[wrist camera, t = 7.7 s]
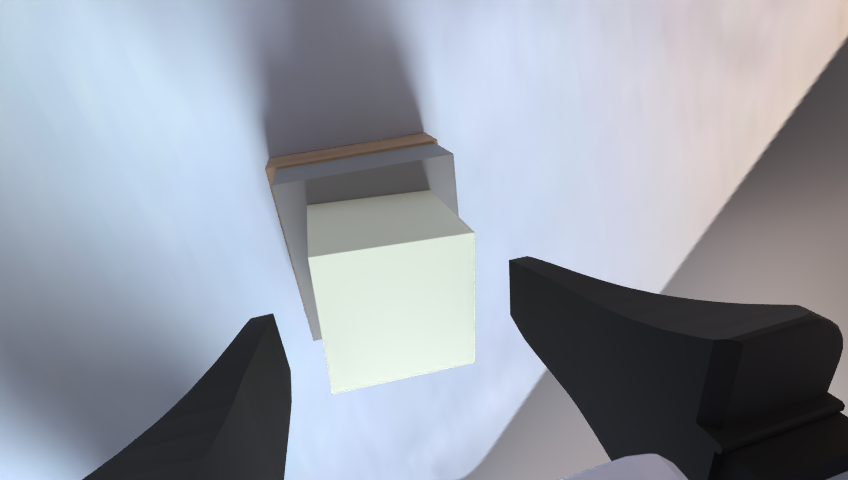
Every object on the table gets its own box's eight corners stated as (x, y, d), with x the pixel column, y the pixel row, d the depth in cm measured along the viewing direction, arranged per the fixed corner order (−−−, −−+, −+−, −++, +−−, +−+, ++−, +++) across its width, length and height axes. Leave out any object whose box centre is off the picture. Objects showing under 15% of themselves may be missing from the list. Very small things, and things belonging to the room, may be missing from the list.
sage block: (435, 294, 17) (474, 362, 13) (325, 314, 16) (332, 394, 12) (430, 189, 16) (474, 232, 12) (306, 205, 15) (307, 257, 11)
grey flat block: (447, 276, 20) (465, 303, 18) (312, 308, 19) (313, 340, 17) (434, 142, 17) (453, 153, 15) (275, 169, 16) (271, 185, 14)
